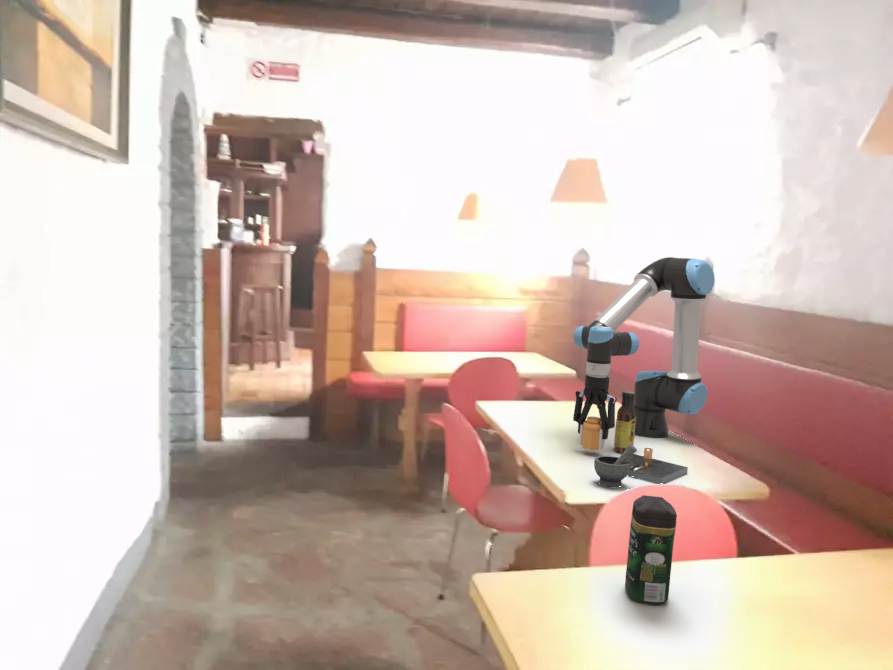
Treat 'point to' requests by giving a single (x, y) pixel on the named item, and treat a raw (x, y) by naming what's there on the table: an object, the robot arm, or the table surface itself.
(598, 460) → the mortar and pestle
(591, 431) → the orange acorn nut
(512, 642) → the table surface
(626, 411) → the sauce bottle
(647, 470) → the junction plate
